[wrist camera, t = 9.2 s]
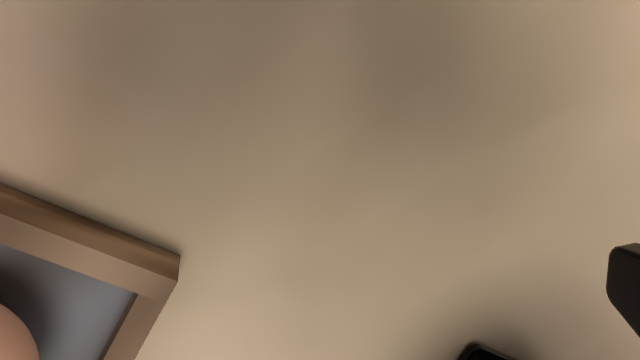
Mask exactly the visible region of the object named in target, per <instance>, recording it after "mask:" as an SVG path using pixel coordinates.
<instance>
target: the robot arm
mask: <svg viewBox="0 0 640 360" xmlns="http://www.w3.org/2000/svg"><path fill="white" fill-rule="evenodd" d="M606 291H607V295H608V298H609V300H610V301H611V303H612V304H613V305H614V307H615V308H616V309H617V310H618V311H619V313H620V314H621V315H622V316H623V318H624V319H625V320H626V321H627V322H628V324H629V325H630V326H631V327H632V329H633V330H634V331H635V332H636V334H637V335H638V336H639V337H640V244H639V243H632V244H627V245H623V246H618V247H615V248H614V249H612V250H611V252H610V254H609V261H608V271H607V282H606ZM476 354H477V355H476ZM475 355H476V356H475ZM459 360H515V359H513V358H511V357H508V356H506V355H504V354H501V353H499V352H497V351H494V350H492V349H490V348H487V347H485V346H483V345H480V344H472V345H470V346H469V347H468V348H467V349H466V350H465V352H464V353H463V354H462V356H461V357H460V359H459Z"/></svg>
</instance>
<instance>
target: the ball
mask: <svg viewBox="0 0 640 360" xmlns="http://www.w3.org/2000/svg"><path fill="white" fill-rule="evenodd" d="M0 360H40V359H39V353H38V349H37V346H36V343H35V341H34V339H33V337H32V335H31V333H30V331H29V330H28V328H27V327H26V325H25V324H24V323H23V322H22V321H21V319H20V318H19V317H18V316H16V315H15V314H14V313H13V312H12V311H11V310H9V309H8V308H6V307H5V306H3V305H2V304H0Z"/></svg>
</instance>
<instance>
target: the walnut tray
mask: <svg viewBox="0 0 640 360" xmlns="http://www.w3.org/2000/svg"><path fill="white" fill-rule="evenodd" d="M179 264H180V255H177V254H175V253H172V252H170V251H167V250H165V249H162V248H160V247H157V246H155V245H153V244H150V243H148V242H145V241H143V240H140V239H138V238H135V237H133V236H130V235H128V234H125V233H123V232H120V231H118V230H115V229H113V228H110V227H108V226H105V225H103V224H100V223H98V222H95V221H93V220H90V219H88V218H86V217H83V216H81V215H78V214H76V213H73V212H71V211H68V210H66V209H63V208H61V207H58V206H56V205H53V204H51V203H48V202H46V201H43V200H41V199H38V198H36V197H33V196H31V195H28V194H26V193H24V192H21V191H19V190H16V189H14V188H11V187H9V186H6V185H4V184H1V183H0V304H2V305H3V306H5V307H6V308H8V309H9V310H11V311H12V312H13V313H14V314H15V315H16V316H18V317H19V318H20V319H21V321H22V322H23V323H24V324H25V325H26V327H27V328H28V330H29V331H30V333H31V335H32V337H33V339H34V341H35V343H36V346H37V349H38V353H39V359H40V360H134V359H135V357H136V355H137V354H138V352H139V350H140V348H141V346H142V345H143V343H144V341H145V339H146V337H147V336H148V334H149V332H150V330H151V328H152V327H153V325H154V323H155V321H156V319H157V318H158V316H159V314H160V312H161V310H162V309H163V307H164V305H165V303H166V301H167V300H168V298H169V296H170V294H171V292H172V291H173V289H174V287H175V285H176V283H177V282H178V273H179Z"/></svg>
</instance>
